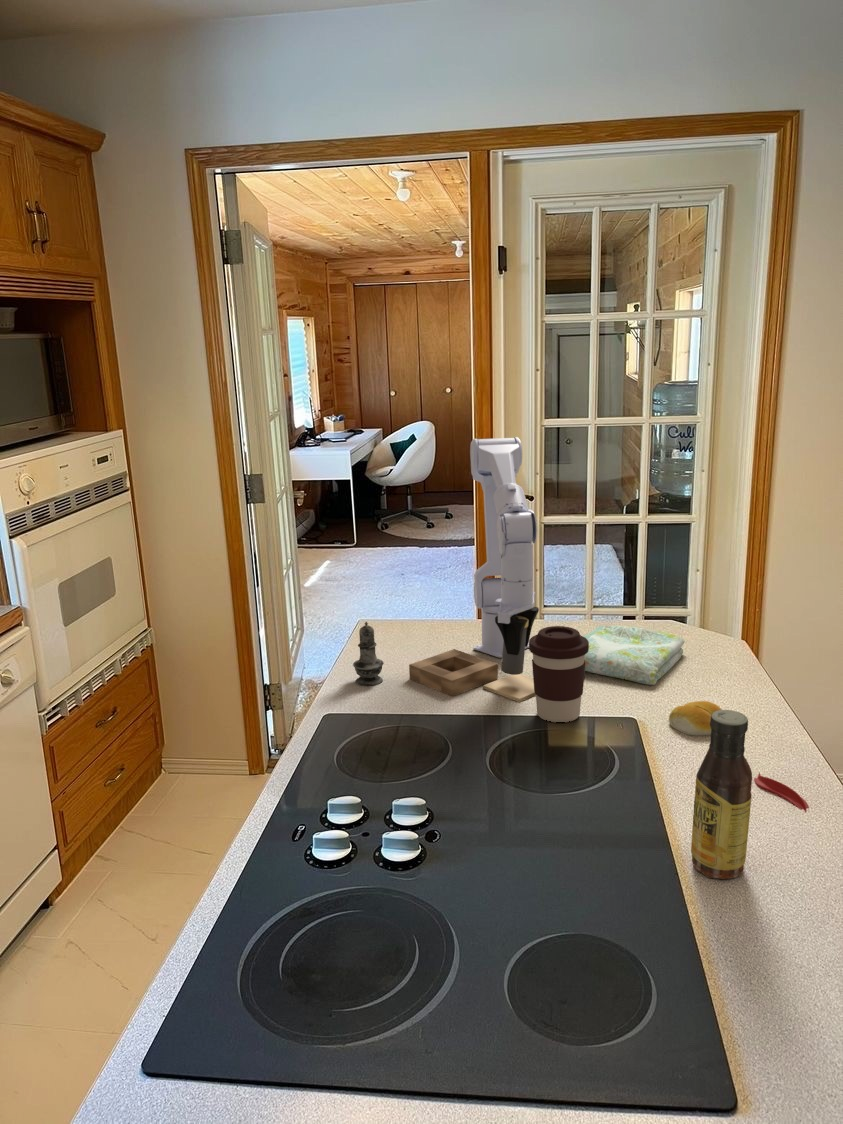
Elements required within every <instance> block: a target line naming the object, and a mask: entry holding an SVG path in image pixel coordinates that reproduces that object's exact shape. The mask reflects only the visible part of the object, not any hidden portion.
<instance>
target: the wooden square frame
mask: <svg viewBox="0 0 843 1124" xmlns="http://www.w3.org/2000/svg"><path fill="white" fill-rule="evenodd" d="M498 665H499V663H497V662H493V661H491V660H488V659H485V658H482V657H478V656H476V655H473V654H470V653H467V652H464V651H461V650H458V649H456V648H454V649H451V650H447V651H445V652H441V653H439V654H436V655H432V656H431V657H427V658H424V659H421V660H418V661H416V662H413V663H410V664H408V667H409V670H408V671H409V674H408V675H409V680H411V681H413V682H416V683H418V684H421V685H423V686H426V687H428V688H431V689H433V690H435V691H436V690H437V691H439V692H440V693H441V692H442V693H443V694H446V695H449V696H451V697H454V696H456V695H458V694H461V693H464V692H467V691H469V690H471V689H472V690H473V689H475V688H478V687H480V686H483V685H486V684H488V683H491V682H494V681H496V680H499V670H498V669H499V666H498Z"/></svg>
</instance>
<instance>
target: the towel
mask: <svg viewBox="0 0 843 1124" xmlns="http://www.w3.org/2000/svg"><path fill="white" fill-rule="evenodd" d="M582 636H583V637H585V638H586V639H587V640H588V642H589V651H588V653H586V654H585V658H584V660H585V672H588V673H592V674H597V675H601V676H606V677H609V678H615V677H616V679H621V680H624V679H625V681H630V682H635V683H639V684H643V685H648V686H655V685H656V684H657V683H658V681H659V680H661V679H662V678H663V677H664V676H665V675H666V674H667V673H668V672H669V671H670V669H672V668H673V666H674V665H675V664H677V663H678V662H679V661H680V659H681V658H682V657H683V654H684V649H683V648H682V647H683V646H684V644H685V640H684V638H683V637H681V636H679V634H676V633H672V632H671V633H670V632H666V631H662V630H661V631H660V630H654V629H650V628H643V627H637V626H627V625H613V624H612V625H599V626H597V627H596V628H595V629H594V630H592V631H590V632H589V633H587V634H584V635H582ZM681 656H682V657H681Z"/></svg>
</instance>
